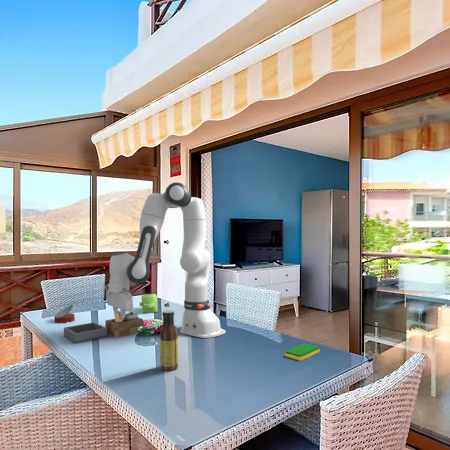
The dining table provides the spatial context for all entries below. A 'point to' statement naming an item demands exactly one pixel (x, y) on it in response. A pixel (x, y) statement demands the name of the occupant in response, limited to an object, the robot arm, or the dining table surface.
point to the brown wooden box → (124, 325)
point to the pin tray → (85, 332)
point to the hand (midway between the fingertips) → (119, 317)
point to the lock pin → (118, 317)
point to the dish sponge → (302, 351)
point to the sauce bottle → (168, 342)
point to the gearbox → (149, 303)
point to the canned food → (64, 315)
